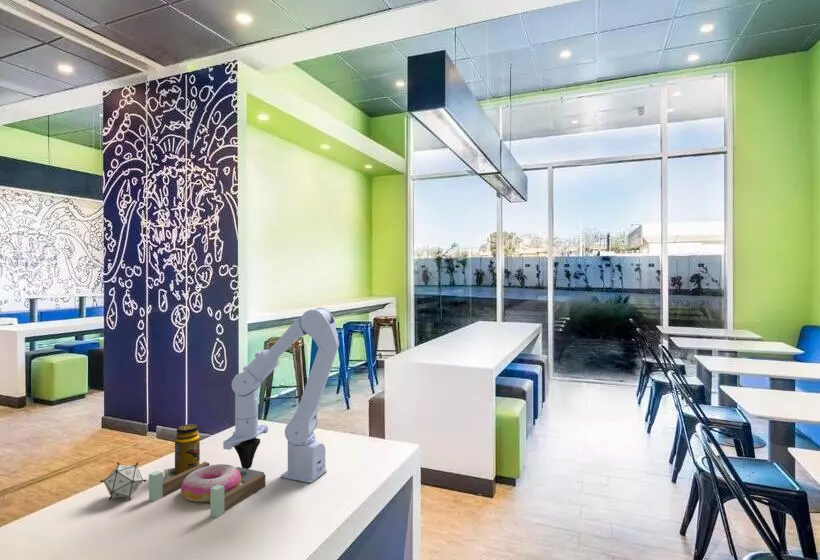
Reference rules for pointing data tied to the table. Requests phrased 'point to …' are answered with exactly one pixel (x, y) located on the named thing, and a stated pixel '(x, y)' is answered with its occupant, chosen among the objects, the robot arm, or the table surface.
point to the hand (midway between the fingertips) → (246, 467)
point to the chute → (217, 496)
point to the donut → (209, 481)
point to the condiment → (185, 450)
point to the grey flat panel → (247, 474)
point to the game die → (123, 481)
